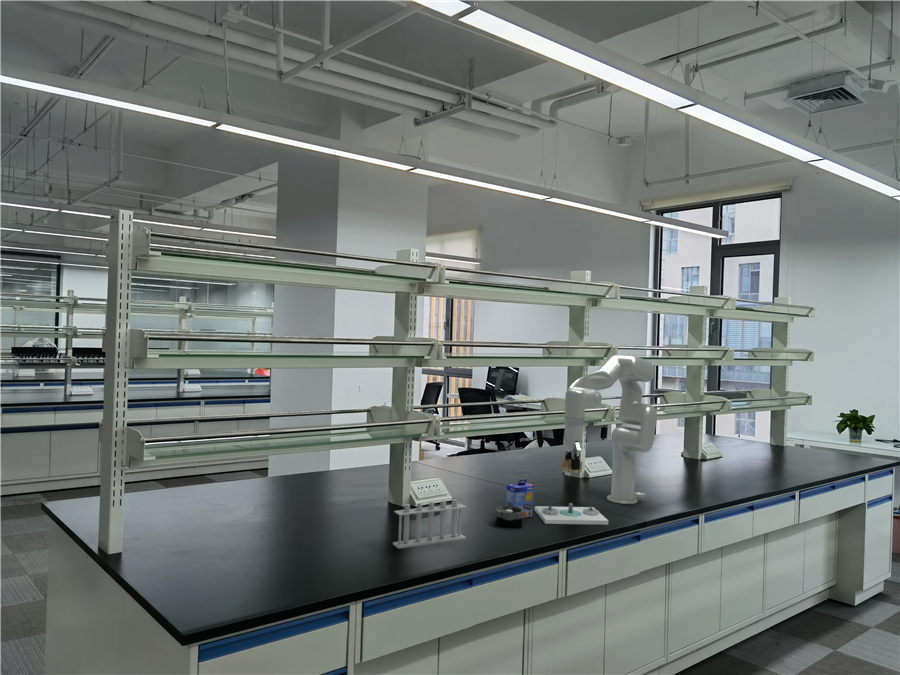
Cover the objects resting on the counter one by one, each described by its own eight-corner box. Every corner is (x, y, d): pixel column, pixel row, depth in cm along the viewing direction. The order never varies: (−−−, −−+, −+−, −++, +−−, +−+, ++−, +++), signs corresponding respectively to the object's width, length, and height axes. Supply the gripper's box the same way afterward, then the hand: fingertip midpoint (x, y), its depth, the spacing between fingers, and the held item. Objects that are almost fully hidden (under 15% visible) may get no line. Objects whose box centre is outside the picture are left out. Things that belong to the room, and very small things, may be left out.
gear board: (593, 511, 260) (594, 498, 260) (608, 524, 242) (608, 510, 242) (534, 510, 258) (535, 497, 258) (545, 523, 240) (545, 509, 240)
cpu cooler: (522, 506, 243) (524, 513, 233) (522, 521, 243) (524, 529, 233) (495, 504, 243) (495, 512, 233) (494, 519, 243) (495, 527, 233)
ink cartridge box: (513, 520, 243) (515, 481, 243) (504, 516, 248) (505, 478, 248) (533, 516, 249) (535, 478, 249) (524, 512, 253) (525, 475, 253)
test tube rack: (398, 549, 206) (399, 507, 206) (392, 544, 210) (394, 504, 210) (466, 539, 219) (467, 500, 218) (459, 535, 222) (461, 497, 222)
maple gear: (578, 468, 254) (579, 459, 254) (584, 473, 246) (584, 463, 246) (559, 468, 253) (560, 459, 253) (564, 472, 246) (565, 463, 246)
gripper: (558, 418, 258) (556, 462, 258) (570, 424, 241) (568, 471, 241) (577, 418, 259) (575, 463, 259) (590, 425, 241) (588, 472, 242)
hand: (572, 467), depth 250 cm, fingers closed on maple gear, 7 cm apart
